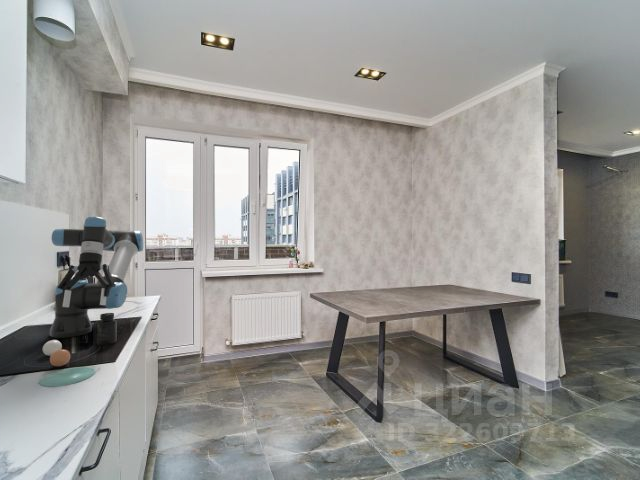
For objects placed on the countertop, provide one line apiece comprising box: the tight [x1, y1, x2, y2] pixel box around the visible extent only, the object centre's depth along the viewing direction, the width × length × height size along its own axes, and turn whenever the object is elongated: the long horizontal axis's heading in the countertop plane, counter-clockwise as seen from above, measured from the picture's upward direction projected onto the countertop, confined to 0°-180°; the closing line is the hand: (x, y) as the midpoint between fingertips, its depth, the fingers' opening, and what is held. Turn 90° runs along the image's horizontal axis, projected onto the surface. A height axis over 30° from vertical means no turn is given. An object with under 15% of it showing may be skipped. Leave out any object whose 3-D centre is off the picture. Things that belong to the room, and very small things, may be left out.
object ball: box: [49, 348, 71, 367], centre depth 111 cm, size 6×6×6 cm
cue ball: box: [42, 339, 63, 357], centre depth 121 cm, size 6×6×6 cm
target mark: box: [38, 366, 96, 388], centre depth 103 cm, size 14×14×1 cm
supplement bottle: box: [96, 312, 118, 346], centre depth 135 cm, size 7×7×12 cm
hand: (84, 306), depth 129 cm, fingers open, 13 cm apart
